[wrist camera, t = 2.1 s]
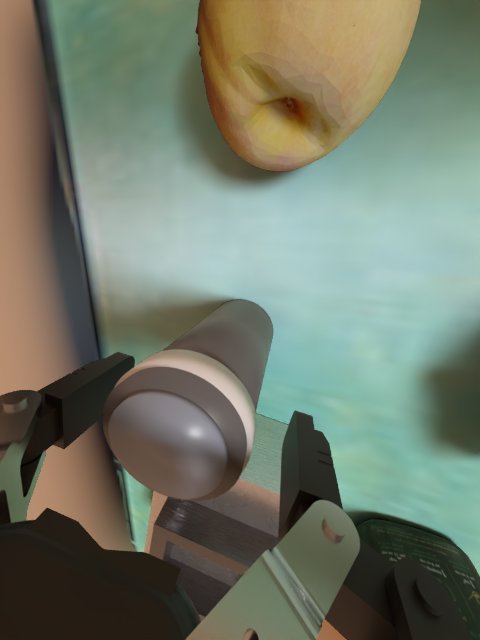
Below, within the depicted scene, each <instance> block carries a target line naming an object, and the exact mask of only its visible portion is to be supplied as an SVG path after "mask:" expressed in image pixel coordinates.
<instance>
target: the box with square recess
mask: <svg viewBox="0 0 480 640" xmlns="http://www.w3.org/2000/svg"><path fill="white" fill-rule="evenodd" d="M288 426H289V425H287V424H284V423H281V422H278V421H276V420H273V419H270V418H267V417H265V416H262V415H259V414H256V431H255V436H254V441H253V446H252V450H251V455H250V459H249V461H248V464H247V466H246V468H245V469H244V471H243V472H242V473H241V475H240V477H239V479H238V481H237V482H236V483H235V485H234V486H233V487H232V488H231V489H230V490H229V491H227V492H226V493H224V494H222V495H220V496H218V497H216V498H212V499H209V500H202V501H189V500H181V499H176V498H173V497H169V496H165V495H162V494H160V493H157V492H155V491H153V497H152V504H151V511H150V517H149V524H148V530H147V537H146V544H145V550H144V552H146V553H148V554H150V555H152V556H155V557H157V558H159V559H161V560H164V561H166V562H168V563H170V564H172V565H175V566H177V567H179V568H181V571H180V576H179V580H178V584H179V585H180V586H181V587H182V588H183V589H184V590H185V592H186V593H187V595H188V596H189V598H190V599H191V600H192V602H193V604H194V606H195V608H196V610H197V612H198V615H199V617H200V620H201V622H202V620H203V619H204V618H205V617H206V616H207V615H208V614H209V613H210V612H211V610H212V609H213V608H214V607H215V606H216V605H217V604H218V603H219V602H220V600H221V599H222V598H223V597H224V596H225V595H226V594H227V593H228V592H229V590H230V589H231V588H232V587H233V586H234V585H235V584H236V583H237V582H238V580H239V579H240V578H241V577H242V576H243V575H244V574H245V573H246V572H247V570H248V569H249V568H250V567H251V566H252V565H253V564H254V563H255V562H256V560H257V559H258V558H259V557H260V556H261V555H262V554H263V553H264V552H265V551H266V550H268V549H271V550H272V549H274V548H275V547H276V545H277V544H278V543H279V542H280V541H281V540H282V539H279V538H278V531H279V506H280V481H281V456H282V445H283V441H284V437H285V434H286V431H287V429H288Z"/></svg>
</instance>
